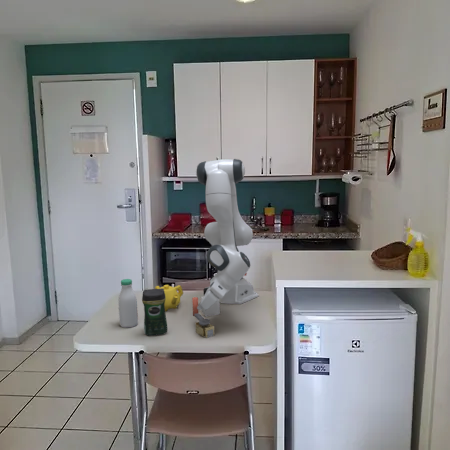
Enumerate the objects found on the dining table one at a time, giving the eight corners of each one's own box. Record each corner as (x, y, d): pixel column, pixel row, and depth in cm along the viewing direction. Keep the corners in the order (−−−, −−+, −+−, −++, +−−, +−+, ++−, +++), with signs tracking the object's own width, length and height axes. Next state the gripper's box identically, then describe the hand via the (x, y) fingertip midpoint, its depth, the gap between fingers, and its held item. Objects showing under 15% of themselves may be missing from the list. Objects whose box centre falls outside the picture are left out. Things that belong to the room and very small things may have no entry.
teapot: (140, 306, 208) (139, 284, 206) (172, 298, 218) (171, 277, 216) (161, 318, 192) (159, 294, 190) (194, 309, 203) (193, 286, 201)
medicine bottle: (220, 314, 195) (219, 289, 193) (205, 316, 193) (204, 291, 191) (216, 309, 202) (215, 284, 200) (201, 311, 200) (200, 286, 198)
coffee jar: (167, 327, 182) (165, 285, 178) (167, 335, 174) (165, 291, 171) (144, 329, 180) (141, 287, 177) (143, 337, 173) (141, 293, 169)
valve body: (194, 331, 177) (194, 322, 176) (204, 328, 180) (204, 319, 179) (205, 338, 170) (205, 328, 170) (215, 334, 173) (215, 325, 173)
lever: (211, 324, 173) (211, 306, 172) (201, 326, 171) (200, 308, 170) (199, 313, 185) (198, 296, 184) (189, 315, 183) (189, 298, 182)
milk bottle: (137, 327, 183) (135, 282, 179) (119, 328, 182) (116, 283, 178) (138, 320, 190) (135, 277, 187) (120, 321, 189) (117, 278, 186)
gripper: (218, 272, 189) (198, 294, 192) (211, 287, 169) (188, 311, 172) (228, 282, 189) (208, 303, 192) (223, 298, 169) (200, 321, 172)
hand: (199, 307), depth 182 cm, fingers closed
